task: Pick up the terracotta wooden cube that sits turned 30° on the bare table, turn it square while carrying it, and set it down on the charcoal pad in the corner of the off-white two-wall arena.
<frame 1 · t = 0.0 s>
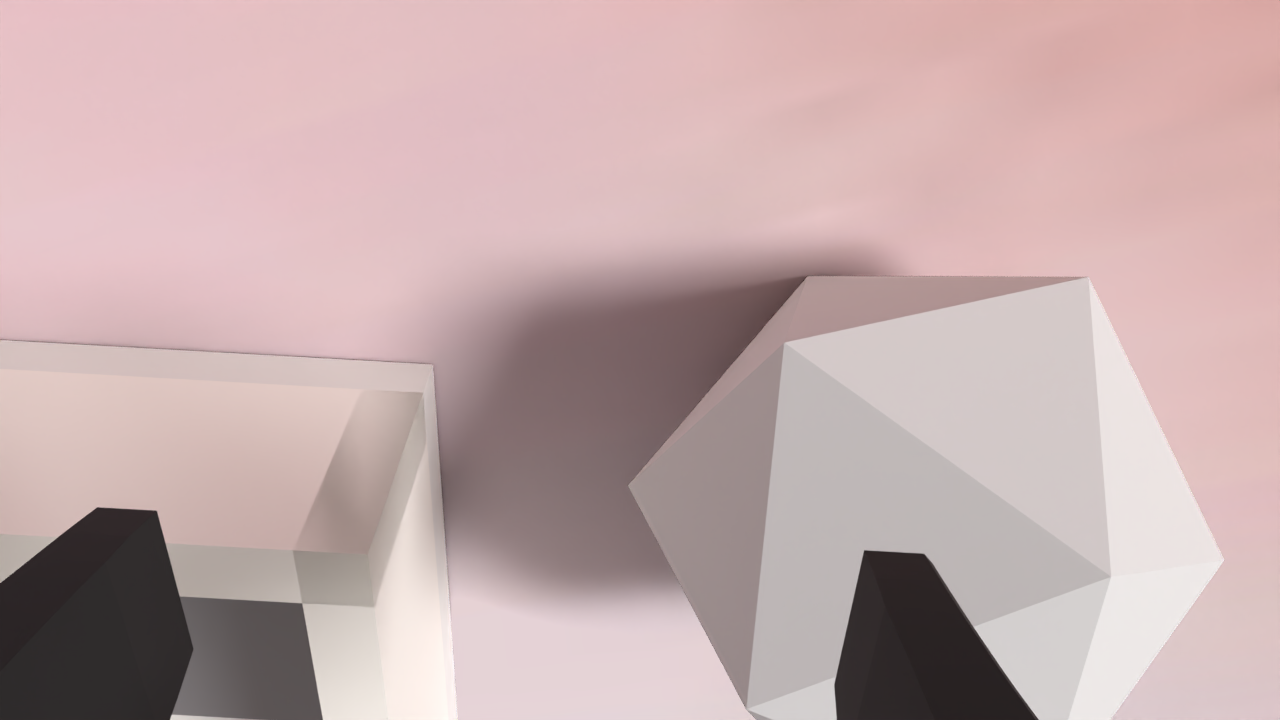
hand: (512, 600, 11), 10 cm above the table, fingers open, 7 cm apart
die: (873, 382, 22), on the table
arena: (106, 558, 25), on the table
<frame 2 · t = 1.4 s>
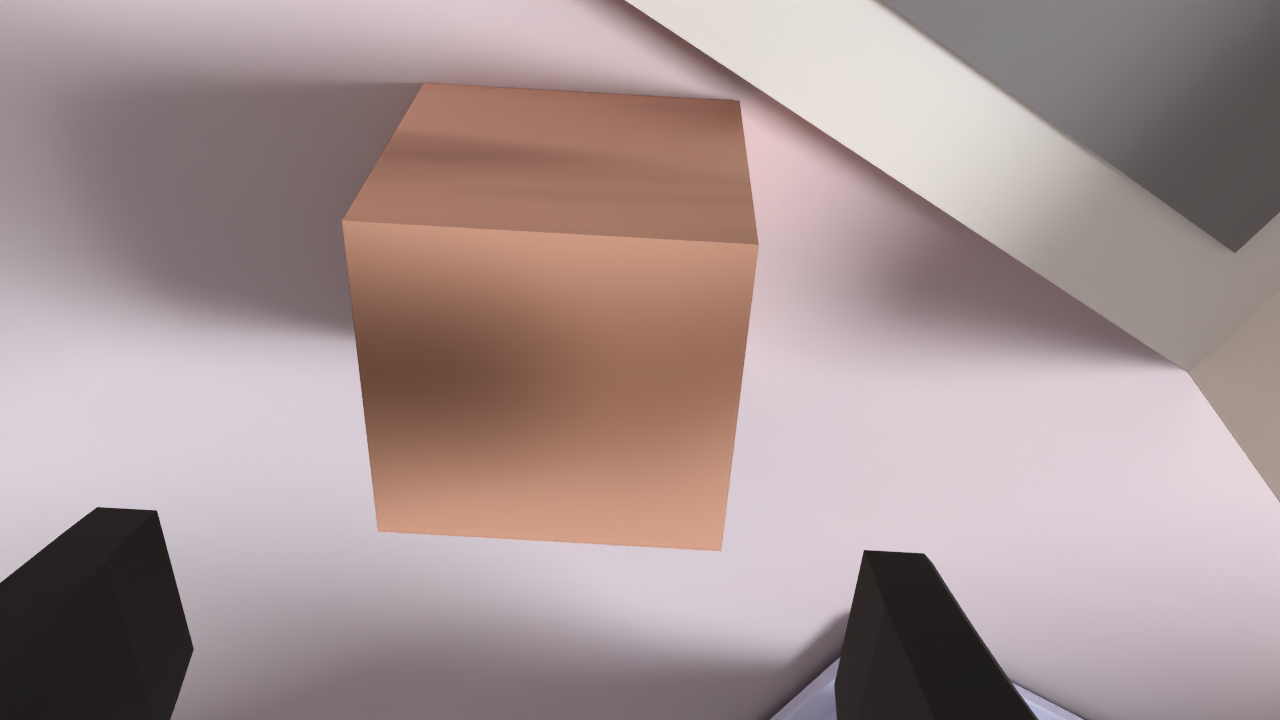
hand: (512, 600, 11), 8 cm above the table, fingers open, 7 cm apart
cube: (579, 231, 18), on the table
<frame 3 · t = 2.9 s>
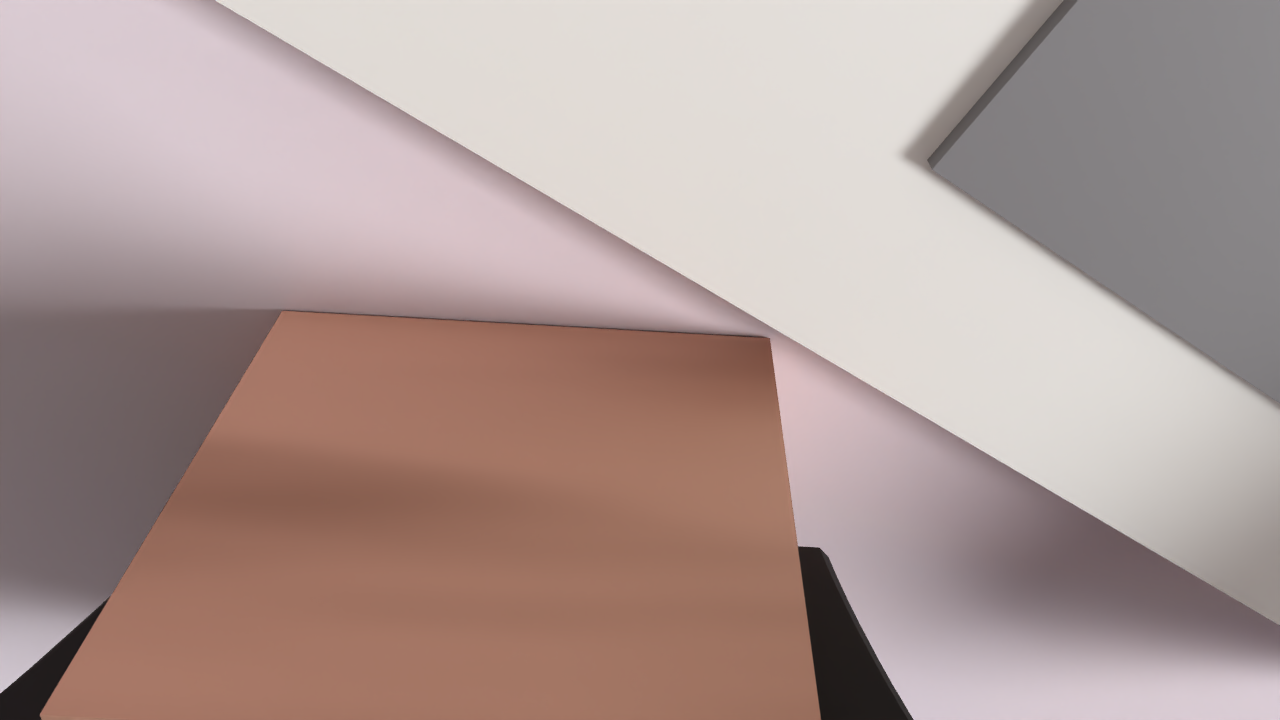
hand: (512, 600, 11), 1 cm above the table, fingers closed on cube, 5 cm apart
cube: (528, 509, 12), on the table, touching gripper
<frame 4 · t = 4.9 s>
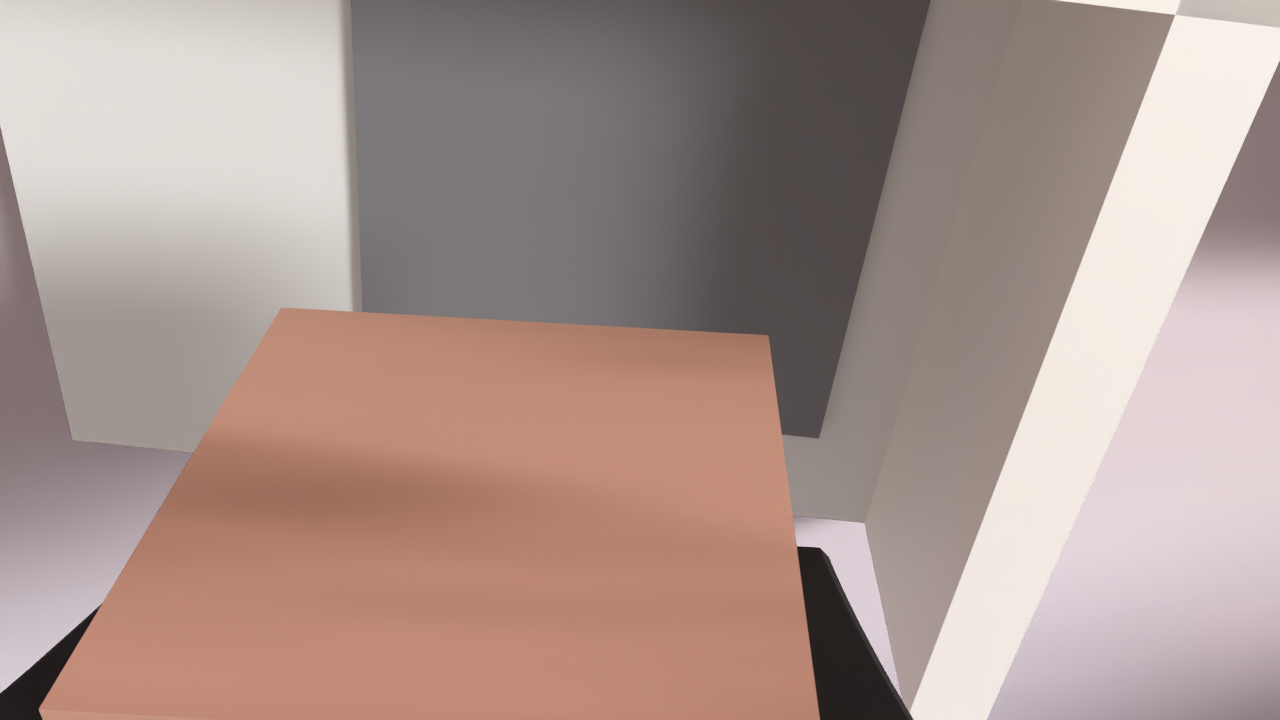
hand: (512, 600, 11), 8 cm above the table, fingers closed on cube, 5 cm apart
cube: (527, 506, 12), point 7 cm above the table, touching gripper
arena: (528, 166, 18), on the table
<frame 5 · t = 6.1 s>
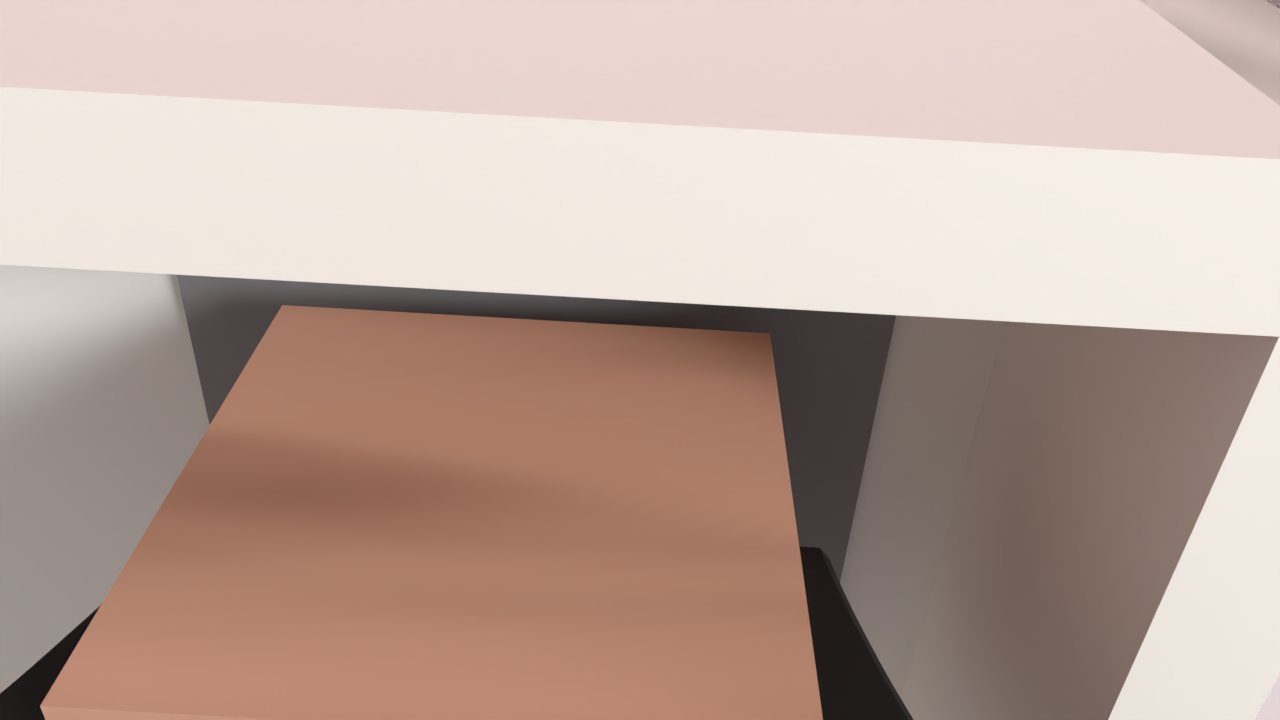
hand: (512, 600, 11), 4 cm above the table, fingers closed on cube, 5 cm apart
cube: (528, 504, 12), point 2 cm above the table, touching gripper
arena: (434, 392, 14), on the table
when the fingers open (4 cm above the table, at t = 6.8 s): cube stays where it is, resting on arena.
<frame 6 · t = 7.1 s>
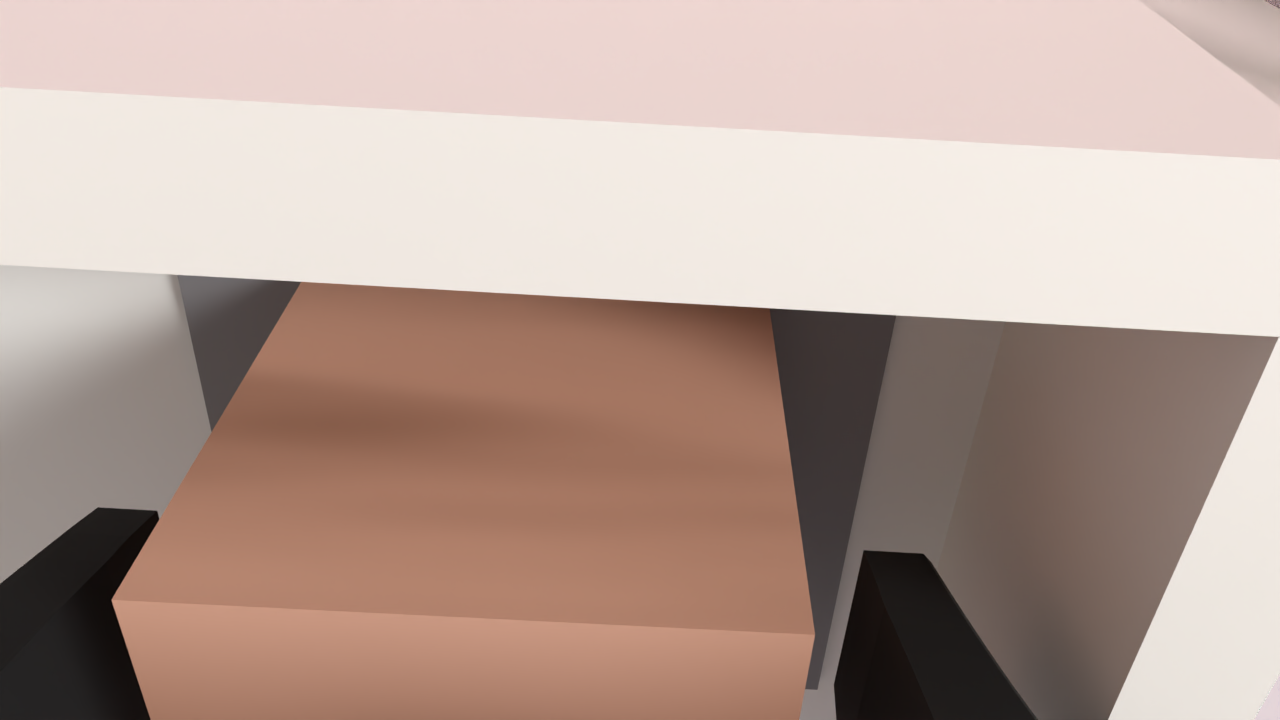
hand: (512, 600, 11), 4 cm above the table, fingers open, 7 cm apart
cube: (541, 453, 13), point 1 cm above the table, touching arena
arena: (434, 392, 14), on the table
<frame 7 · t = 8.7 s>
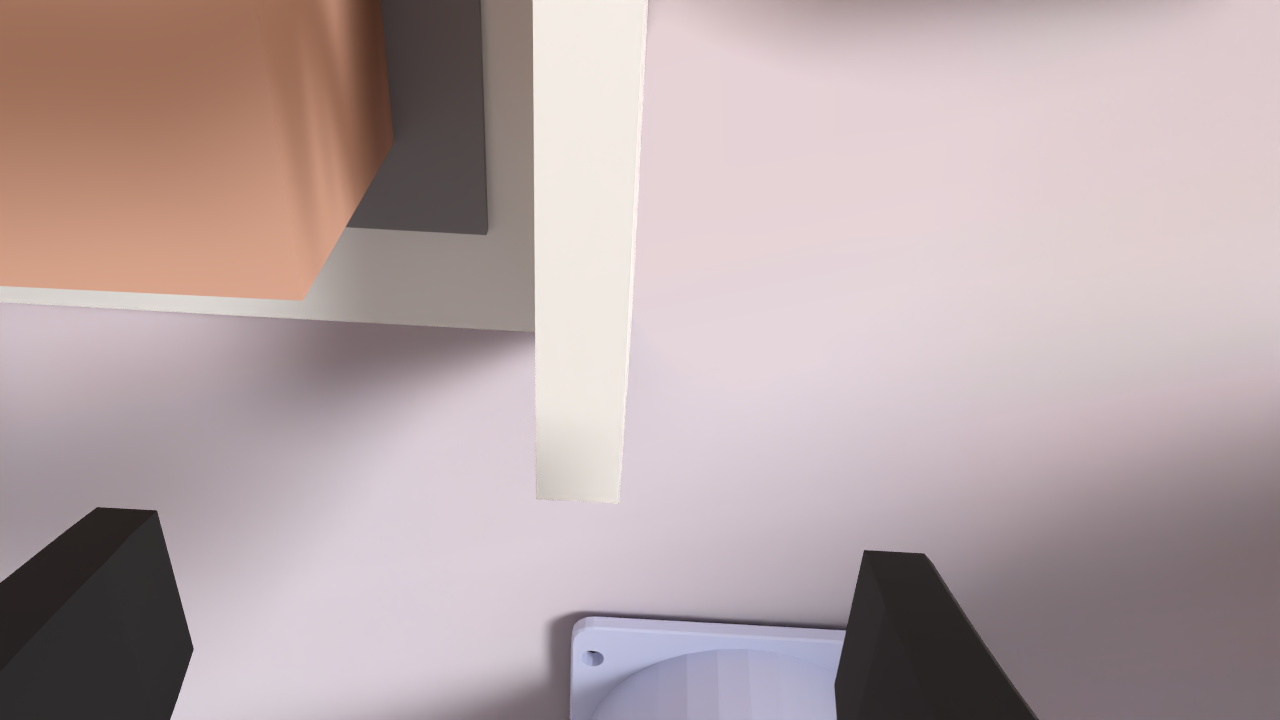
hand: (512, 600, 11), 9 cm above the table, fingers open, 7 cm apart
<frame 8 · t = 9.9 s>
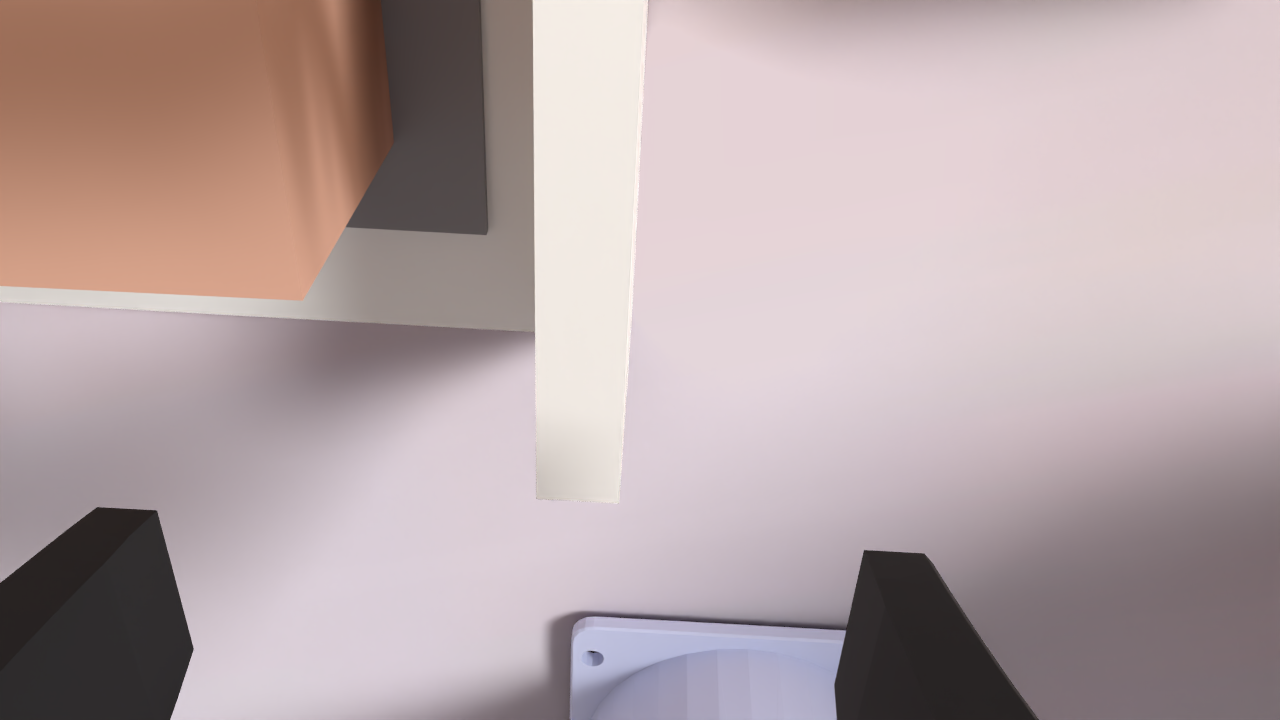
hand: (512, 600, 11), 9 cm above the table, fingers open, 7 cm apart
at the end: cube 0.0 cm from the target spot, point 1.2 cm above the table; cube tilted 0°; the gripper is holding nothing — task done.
